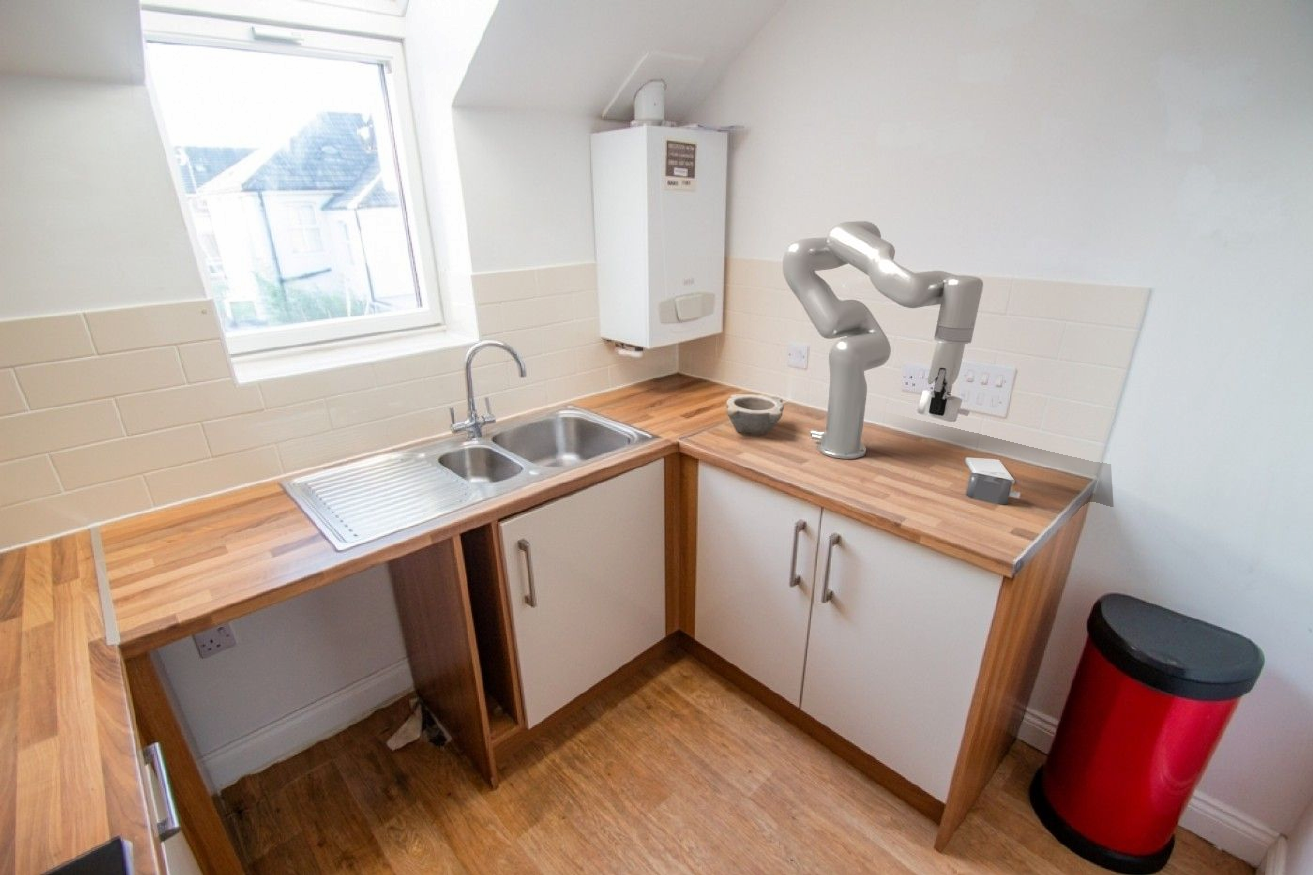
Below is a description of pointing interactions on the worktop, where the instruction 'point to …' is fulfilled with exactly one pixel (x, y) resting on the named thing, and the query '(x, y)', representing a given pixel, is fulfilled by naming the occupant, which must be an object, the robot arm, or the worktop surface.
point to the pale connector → (950, 409)
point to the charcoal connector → (990, 489)
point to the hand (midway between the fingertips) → (938, 411)
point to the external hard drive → (989, 467)
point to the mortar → (754, 413)
